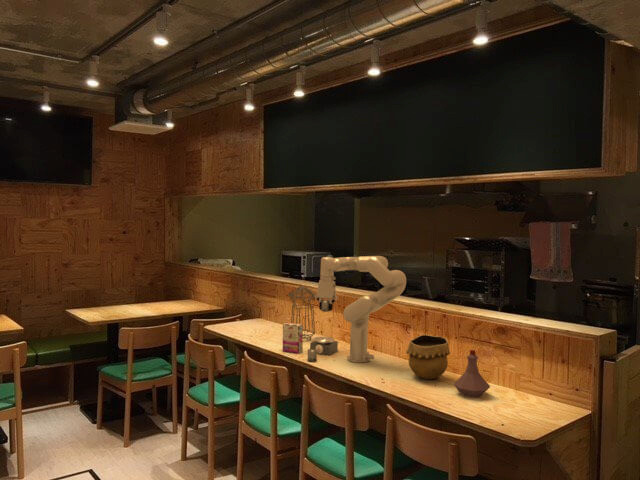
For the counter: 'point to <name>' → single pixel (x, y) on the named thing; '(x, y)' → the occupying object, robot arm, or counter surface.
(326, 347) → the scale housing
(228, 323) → the counter surface
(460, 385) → the flask
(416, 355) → the clay pot
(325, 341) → the pan
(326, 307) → the disc
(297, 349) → the candy bar box
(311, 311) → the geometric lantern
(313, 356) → the cylinder
